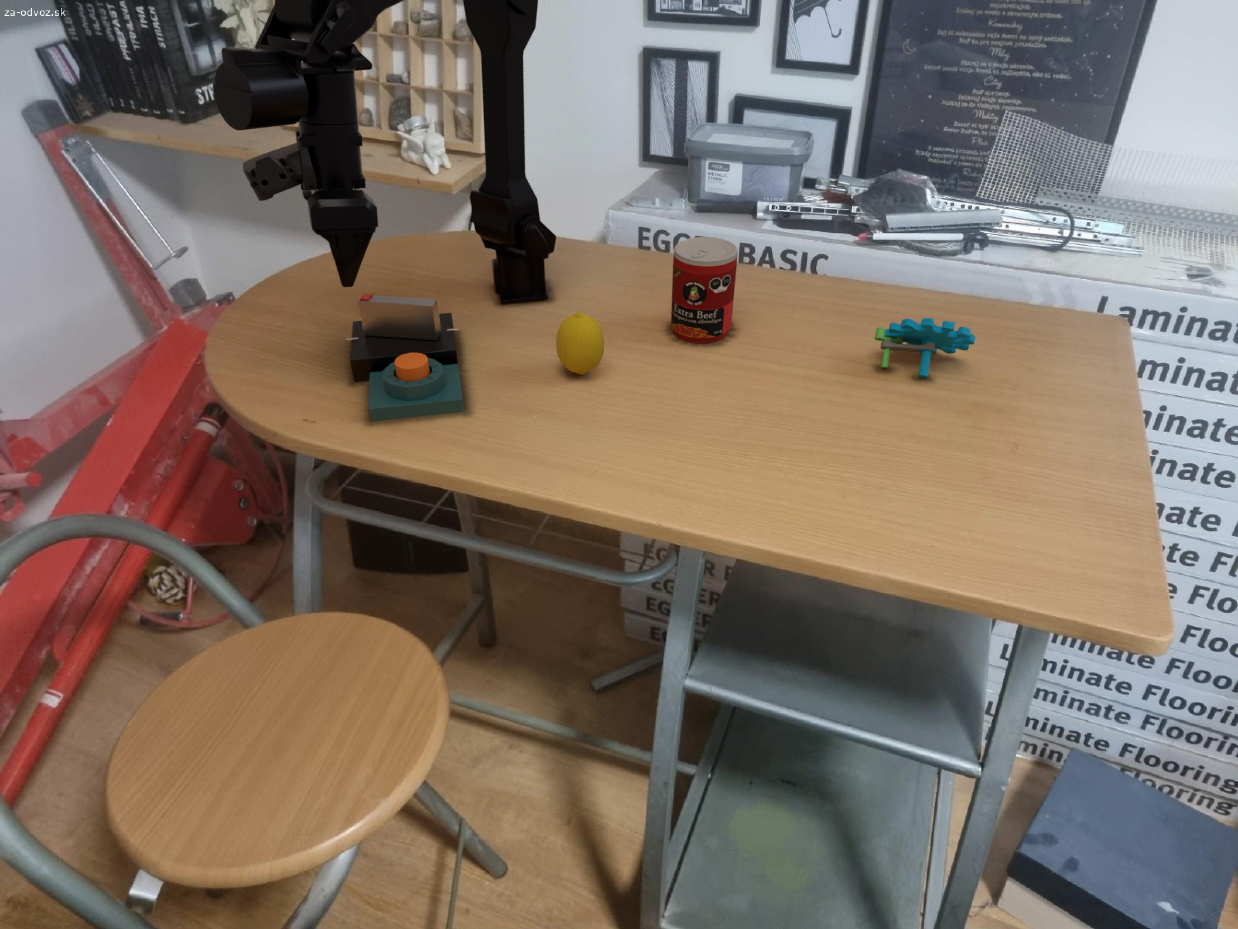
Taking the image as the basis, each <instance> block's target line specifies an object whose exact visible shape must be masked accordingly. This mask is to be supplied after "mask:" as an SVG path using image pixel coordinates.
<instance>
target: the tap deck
mask: <svg viewBox="0 0 1238 929" xmlns="http://www.w3.org/2000/svg"><path fill="white" fill-rule="evenodd" d="M439 318H440V326H441V335H440V337H439V338H438V340H423V339H409V338H394V337H380V336H365V335H364V331H363V326H362V321H361V320H355V321H352V328H351V337H348V338H345V341H346V342H350V353H349V362H350V367H351V373H352V378H353V382H354V383H361V382H369V378H370V373H371V372H381V371H383V370H384V369H385V368H386V367H387V366H388V365H390V364H391V363H393V362H395V359H396V358H397V357H399V356H401V355H403V354H407V353H421V354H424V355H426V356H427V358H430V359H434V360H436V361H437V362H439V363H440V364H442V365H452V364H458V365H459V360H458V352H457V344H456V337H455V332H457V331H460V329H459V327H456V328H454V321H453V314H452V312H445V313H439Z"/></svg>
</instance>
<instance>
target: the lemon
mask: <svg viewBox="0 0 1238 929" xmlns="http://www.w3.org/2000/svg"><path fill="white" fill-rule="evenodd" d="M604 337H605V336H604V333H603V330H602V327H601V325H600V323H599V322H598V321H597V320H596V318H594V317H593V316H591V315H589V314H587V313H584V312H582V311H577V312H576V313H573V314H570V315H568V316H567V317H566V318H564V320H562V322H561V323H560V324H559V327H558V329H557V333H556V337H555V338H556V339H555V346H556V347H555V348H556V353H557V357H558V359H559V361H560V363H561V365H562V366H563V367H564V368H565V369H567V370H568V371H570V372H571V373H576V374H577V375H579V376H583V375H584V374H586V373H589V372H591V371H593V370H594V369H596V367H598V366H599V364H600V362H601V361H602V359H603V356H604V354H605V353H604V352H605V338H604Z"/></svg>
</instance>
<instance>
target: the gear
mask: <svg viewBox="0 0 1238 929" xmlns="http://www.w3.org/2000/svg"><path fill="white" fill-rule="evenodd" d="M934 321H935V320H934V318H932V317H925V318H921V320H920V323H919V322H917V321H915V320H913V319H912V318H904V319H902V320H901V323H898V322H890V323H889V327H888V328H884V327H880V326H879V327H876V328H875V335H874V340H875V341H877V342H880V346H879V348H880V349H881V350H882V351H883V352H882V360H881V366H880V367H881V368H882V369H888V368H889V361H890V355H891V352H900V353H901V352H902V353H913V354H915V353H916V354H921V356H920V363H919V368H918V369H919V370H918V377H919V378H922V379H927V378H928V377H929V370H930V364H931V359H932V358H931V357H932V355H935V354H937V352H938V350H939V351H941V352H944V353H945V354H948V355H950V354H955V353H956V352H957V350H960V351H963V352H965V351H966V352H967V351H968V350H969V349H970V346H972V345H975V343H976V335H975V334H973V333H971V330H972V329H971V328H968V327H966V326H960V327H958V329H957V330H955V325H956V322H954V321H949V320H943V321H942V323H941V324H942V325H941V326H940V325H937V324H936V323H935V322H934Z"/></svg>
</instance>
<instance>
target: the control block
mask: <svg viewBox="0 0 1238 929" xmlns="http://www.w3.org/2000/svg"><path fill="white" fill-rule="evenodd" d="M428 363H429V370H430V374H429V376H428V377H426V378H423V379H420V380H415V381H403V380H399V379H398V378H397V375H396V369H395V363H394V362H393V363H391V364H390V365H388V366H387V367H386V368H385V369H384V370H383V371H381V372H371V373H370V378H369V381H368V382H369V383H368V386H369V387H368V409H367V410H368V414H369V415H368V416H369V418H370V422H371V423H373V422H383V421H392V420H402V419H410V418H418V417H419V418H421V417H428V416H429V417H430V416H438V415H447V414H456V413H457V414H458V413H464V412H465V406H464V397H463V390H462V382H461V376H460V374H461V373H460V367H459V363H458V364H452V365H442V364H440V363H439V362H437V361H436V360H434V359H430V358H428Z"/></svg>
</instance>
